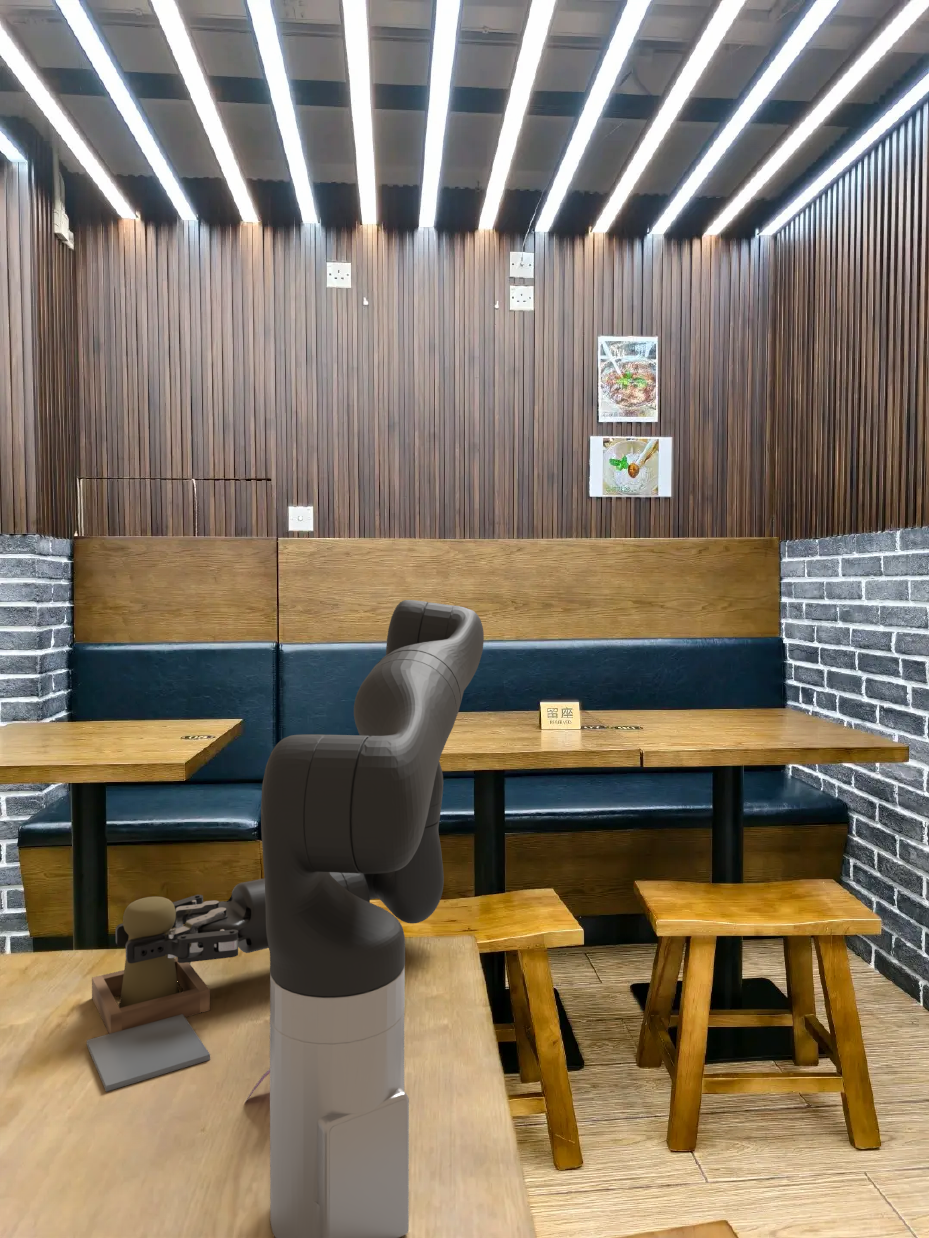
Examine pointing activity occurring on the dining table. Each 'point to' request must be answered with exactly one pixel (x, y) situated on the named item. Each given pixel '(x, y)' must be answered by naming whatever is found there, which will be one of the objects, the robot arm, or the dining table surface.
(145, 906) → the cork
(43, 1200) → the dining table surface
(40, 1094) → the dining table surface
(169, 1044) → the plate
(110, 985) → the caddy
